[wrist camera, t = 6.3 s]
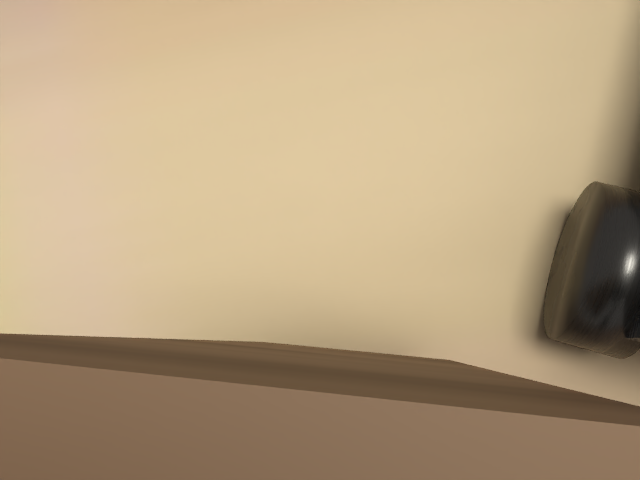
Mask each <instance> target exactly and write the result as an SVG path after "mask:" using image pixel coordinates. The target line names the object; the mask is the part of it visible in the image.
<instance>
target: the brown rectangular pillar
mask: <svg viewBox="0 0 640 480" xmlns="http://www.w3.org/2000/svg"><path fill="white" fill-rule="evenodd" d="M0 480H640V407H639V406H635V405H631V404H627V403H623V402H619V401H615V400H610V399H606V398H602V397H598V396H594V395H590V394H586V393H582V392H578V391H574V390H570V389H566V388H561V387H557V386H553V385H549V384H545V383H541V382H537V381H533V380H529V379H525V378H521V377H517V376H512V375H508V374H504V373H500V372H496V371H492V370H488V369H484V368H480V367H476V366H472V365H467V364H463V363H459V362H455V361H451V360H443V359H433V358H422V357H412V356H402V355H391V354H381V353H371V352H360V351H350V350H340V349H329V348H319V347H309V346H298V345H288V344H278V343H267V342H243V341H213V340H182V339H151V338H120V337H89V336H59V335H28V334H0Z"/></svg>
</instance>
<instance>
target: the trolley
mask: <svg viewBox="0 0 640 480" xmlns="http://www.w3.org/2000/svg"><path fill="white" fill-rule="evenodd" d="M544 327H545V332H546V334H547V336H548V337H549V338H550V339H553V340H556V341H560V342H563V343H567V344H570V345H574V346H577V347H581V348H584V349H588V350H591V351H595V352H598V353H602V354H605V355H609V356H612V357H616V358H620V359H623V358H627V357H629V356H631V355H632V354H634V353H635V352H636V351H637V350H638V349H639V348H640V192H638V191H634V190H629V189H625V188H621V187H617V186H613V185H609V184H605V183H600V182H593V183H591V184H590V185H589V186H587V187H586V189H585V190H584V191H583V192H582V194H581V195H580V197H579V198H578V200H577V202H576V203H575V205H574V207H573V209H572V211H571V213H570V215H569V217H568V220H567V222H566V224H565V227H564V229H563V232H562V234H561V237H560V240H559V243H558V246H557V249H556V252H555V256H554V259H553V263H552V266H551V270H550V275H549V279H548V284H547V290H546V296H545V305H544Z"/></svg>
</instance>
